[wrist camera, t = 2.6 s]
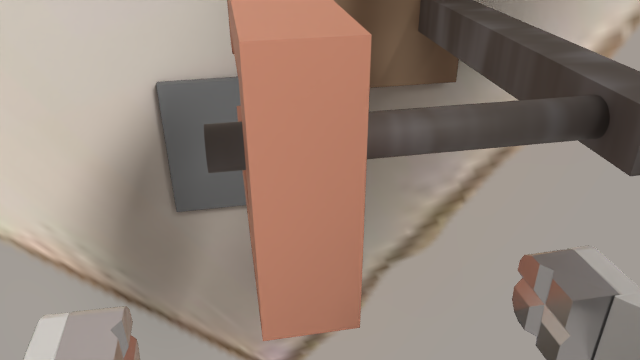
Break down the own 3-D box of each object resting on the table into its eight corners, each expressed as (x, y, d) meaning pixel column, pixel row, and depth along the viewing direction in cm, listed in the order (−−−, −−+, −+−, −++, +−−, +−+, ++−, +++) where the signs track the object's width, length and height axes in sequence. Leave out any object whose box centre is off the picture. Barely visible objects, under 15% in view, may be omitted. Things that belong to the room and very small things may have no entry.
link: (296, -34, 22) (371, 34, 12) (301, 157, 27) (359, 327, 16) (224, -31, 22) (239, 41, 12) (241, 163, 26) (263, 341, 16)
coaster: (303, 72, 38) (304, 75, 37) (306, 195, 42) (307, 198, 42) (156, 81, 36) (156, 84, 35) (177, 207, 41) (176, 212, 40)
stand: (466, -72, 35) (786, -21, 16) (449, 76, 40) (677, 255, 20) (198, -66, 32) (183, 4, 13) (215, 92, 37) (222, 315, 18)
